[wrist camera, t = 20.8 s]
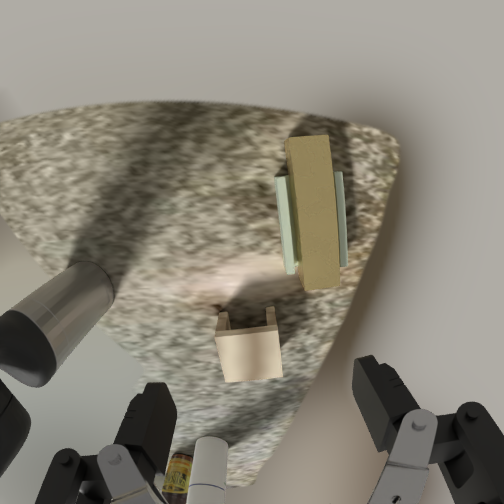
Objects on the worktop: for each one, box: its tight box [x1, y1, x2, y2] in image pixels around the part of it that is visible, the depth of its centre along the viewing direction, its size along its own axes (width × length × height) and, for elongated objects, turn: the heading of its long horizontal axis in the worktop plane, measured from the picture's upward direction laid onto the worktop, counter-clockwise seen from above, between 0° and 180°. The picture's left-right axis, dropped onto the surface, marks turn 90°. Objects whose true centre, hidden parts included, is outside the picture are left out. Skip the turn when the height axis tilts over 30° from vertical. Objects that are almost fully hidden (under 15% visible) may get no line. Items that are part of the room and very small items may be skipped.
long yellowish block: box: [284, 135, 340, 291], centre depth 33 cm, size 4×18×4 cm, turn 8°
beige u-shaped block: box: [215, 306, 283, 382], centre depth 39 cm, size 8×8×7 cm
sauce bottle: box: [162, 454, 193, 504], centre depth 44 cm, size 7×6×20 cm
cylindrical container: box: [186, 436, 228, 504], centre depth 39 cm, size 7×7×25 cm
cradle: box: [274, 171, 348, 275], centre depth 35 cm, size 8×12×4 cm, turn 8°
